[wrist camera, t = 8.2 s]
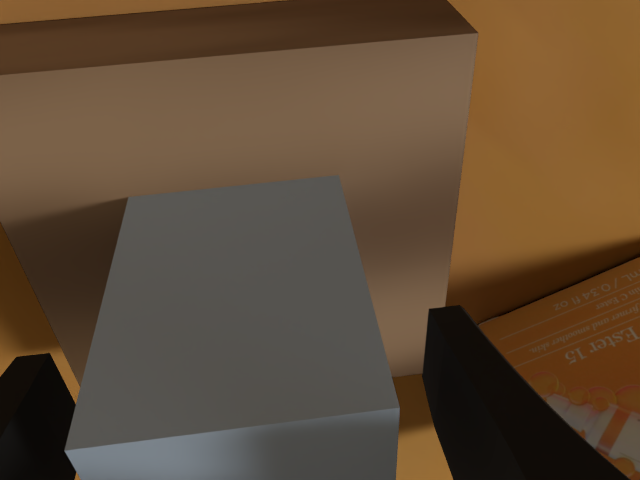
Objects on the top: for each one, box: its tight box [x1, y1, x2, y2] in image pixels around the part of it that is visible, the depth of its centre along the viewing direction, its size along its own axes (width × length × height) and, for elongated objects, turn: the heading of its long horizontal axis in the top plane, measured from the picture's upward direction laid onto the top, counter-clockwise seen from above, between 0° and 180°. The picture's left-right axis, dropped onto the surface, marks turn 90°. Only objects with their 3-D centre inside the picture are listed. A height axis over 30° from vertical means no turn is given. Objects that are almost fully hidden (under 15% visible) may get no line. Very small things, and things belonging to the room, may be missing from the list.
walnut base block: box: [0, 0, 478, 387], centre depth 15 cm, size 10×10×3 cm
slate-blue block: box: [64, 175, 400, 480], centre depth 12 cm, size 4×4×6 cm
